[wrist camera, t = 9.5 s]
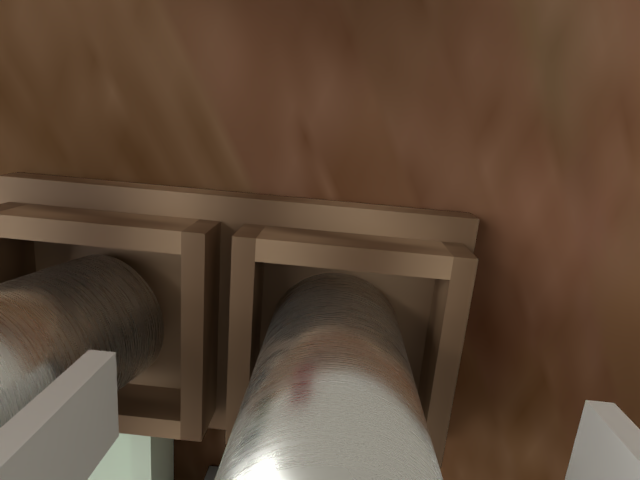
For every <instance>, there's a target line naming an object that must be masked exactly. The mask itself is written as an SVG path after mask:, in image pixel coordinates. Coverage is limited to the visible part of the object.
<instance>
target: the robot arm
mask: <svg viewBox="0 0 640 480" xmlns="http://www.w3.org/2000/svg"><path fill="white" fill-rule="evenodd" d="M118 437H119V424H118V397H117V370H116V352H108V351H99V350H88V351H87V352H86V353H85V354H84V355H82V356H81V357H80V358H79V359H78V360H77V361H76V362H75V363H73V364H72V365H71V366H70V367H69V368H68V369H67V370H65V371H64V372H63V373H62V374H61V375H60V376H59V377H58V378H56V379H55V380H54V381H53V382H52V383H51V384H50V385H49V386H47V387H46V388H45V389H44V390H43V391H42V392H41V393H39V394H38V395H37V396H36V397H35V398H34V399H33V400H32V401H30V402H29V403H28V404H27V405H26V406H25V407H24V408H22V409H21V410H20V411H19V412H18V413H17V414H16V415H15V416H13V417H12V418H11V419H10V420H9V421H8V422H7V423H6V424H4V425H3V426H2V427H1V428H0V480H87V479H88V478H89V477H90V475H91V474H92V472H93V471H94V470H95V468H96V467H97V466H98V464H99V463H100V461H101V460H102V459H103V457H104V456H105V454H106V453H107V452H108V450H109V449H110V448H111V446H112V445H113V443H114V442H115V441H116V439H117V438H118ZM565 480H640V429H639V428H638V427H637V426H636V425H635V424H634V423H633V422H632V421H631V420H630V419H629V418H628V417H627V416H626V415H625V414H624V413H623V412H622V410H621V409H620V408H619V407H618V406H617V405H616V404H615V403H610V402H600V401H590V400H586V401H585V405H584V408H583V412H582V416H581V420H580V423H579V427H578V431H577V435H576V439H575V442H574V446H573V450H572V454H571V458H570V461H569V465H568V469H567V473H566V476H565Z"/></svg>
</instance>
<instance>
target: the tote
mask: <svg viewBox="0 0 640 480" xmlns="http://www.w3.org/2000/svg"><path fill="white" fill-rule="evenodd" d="M87 480H174V439H169V438H160V437H150V436H141V435H132V434H122V433H119V437H118V438H117V439H116V441H115V442H114V443H113V445H112V446H111V448H110V449H109V450H108V452H107V453H106V454H105V456H104V457H103V459H102V460H101V461H100V463H99V464H98V466H97V467H96V468H95V470H94V471H93V472H92V474H91V475H90V477H89V478H88V479H87Z"/></svg>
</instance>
